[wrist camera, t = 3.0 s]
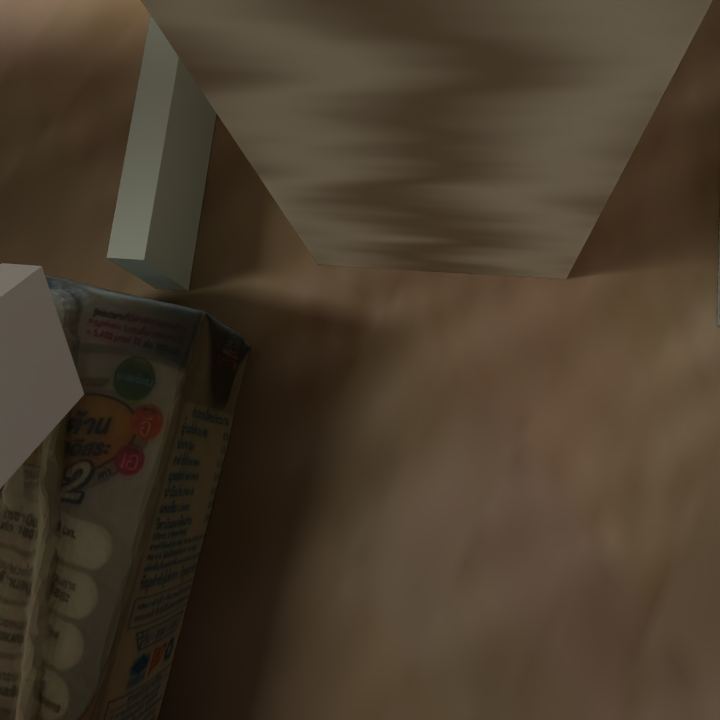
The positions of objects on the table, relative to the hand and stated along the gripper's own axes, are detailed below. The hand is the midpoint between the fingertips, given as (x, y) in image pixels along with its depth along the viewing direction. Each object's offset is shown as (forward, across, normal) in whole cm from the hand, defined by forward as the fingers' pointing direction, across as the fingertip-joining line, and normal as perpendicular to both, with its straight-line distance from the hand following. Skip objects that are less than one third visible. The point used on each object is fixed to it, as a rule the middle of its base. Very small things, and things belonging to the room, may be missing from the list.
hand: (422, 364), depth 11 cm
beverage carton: (+7, -13, -15) cm, 21 cm away
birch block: (+16, -1, -5) cm, 17 cm away
